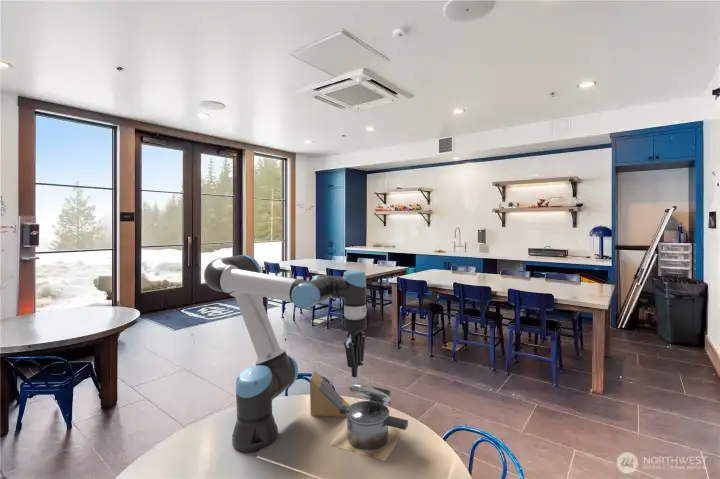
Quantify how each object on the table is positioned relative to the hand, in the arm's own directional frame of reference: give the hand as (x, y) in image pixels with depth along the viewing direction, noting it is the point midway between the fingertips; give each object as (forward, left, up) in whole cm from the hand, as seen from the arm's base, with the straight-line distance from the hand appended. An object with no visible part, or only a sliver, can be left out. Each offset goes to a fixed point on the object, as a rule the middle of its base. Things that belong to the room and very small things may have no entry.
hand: (356, 384), depth 126 cm
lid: (+4, +2, -4) cm, 6 cm away
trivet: (+4, 0, -18) cm, 19 cm away
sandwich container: (-16, +11, -19) cm, 27 cm away
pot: (+6, +1, -18) cm, 19 cm away
